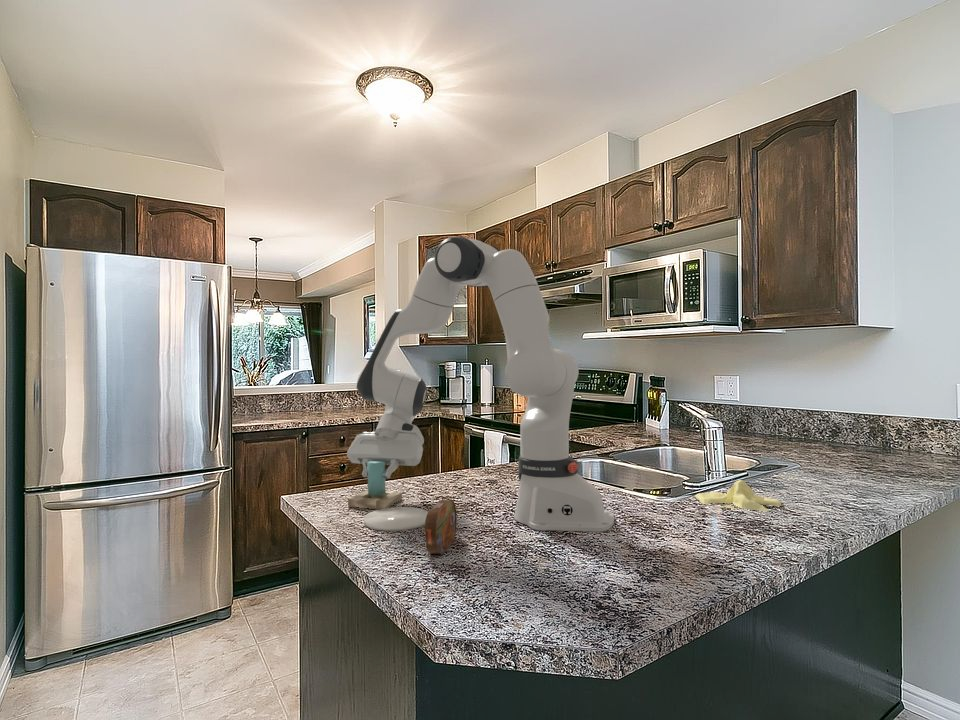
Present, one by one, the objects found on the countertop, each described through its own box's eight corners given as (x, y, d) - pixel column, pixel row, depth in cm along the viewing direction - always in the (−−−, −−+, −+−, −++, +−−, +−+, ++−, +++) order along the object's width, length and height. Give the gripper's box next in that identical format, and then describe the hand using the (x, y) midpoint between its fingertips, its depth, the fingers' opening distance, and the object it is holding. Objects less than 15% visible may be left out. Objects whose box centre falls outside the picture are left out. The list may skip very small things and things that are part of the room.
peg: (388, 491, 143) (387, 460, 143) (380, 495, 138) (379, 463, 138) (373, 490, 144) (372, 460, 144) (364, 494, 140) (364, 463, 140)
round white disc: (440, 514, 131) (440, 509, 131) (413, 533, 117) (413, 528, 117) (383, 509, 136) (383, 505, 136) (351, 527, 121) (351, 522, 121)
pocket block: (402, 499, 145) (402, 492, 145) (384, 509, 135) (384, 501, 135) (368, 497, 148) (367, 489, 148) (348, 506, 138) (348, 498, 138)
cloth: (681, 500, 144) (681, 476, 144) (730, 491, 152) (729, 469, 152) (759, 522, 124) (758, 495, 124) (810, 511, 132) (809, 485, 132)
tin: (438, 561, 101) (438, 515, 101) (422, 560, 102) (421, 514, 102) (458, 534, 116) (457, 494, 116) (443, 534, 117) (443, 494, 117)
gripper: (353, 425, 151) (334, 467, 142) (422, 426, 145) (407, 471, 135) (362, 439, 155) (344, 481, 146) (429, 440, 149) (415, 485, 140)
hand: (375, 476), depth 141 cm, fingers closed on peg, 4 cm apart
